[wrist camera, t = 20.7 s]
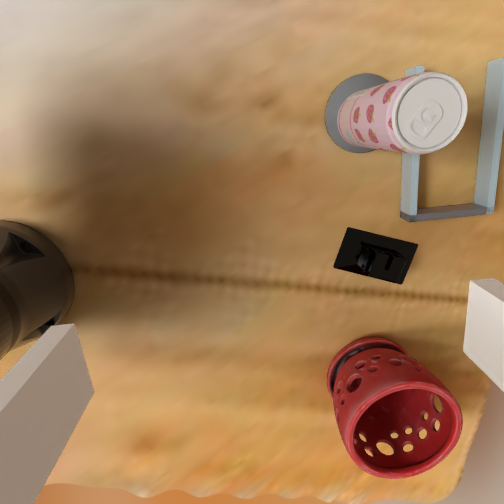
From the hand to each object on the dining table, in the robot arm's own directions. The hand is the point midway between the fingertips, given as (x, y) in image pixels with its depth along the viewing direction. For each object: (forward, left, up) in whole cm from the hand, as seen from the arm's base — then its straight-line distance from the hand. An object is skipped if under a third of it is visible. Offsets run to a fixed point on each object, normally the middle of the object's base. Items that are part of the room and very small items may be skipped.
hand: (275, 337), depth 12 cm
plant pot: (+14, -26, -32) cm, 44 cm away
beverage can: (+13, +6, -31) cm, 34 cm away
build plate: (+15, -10, -32) cm, 37 cm away
